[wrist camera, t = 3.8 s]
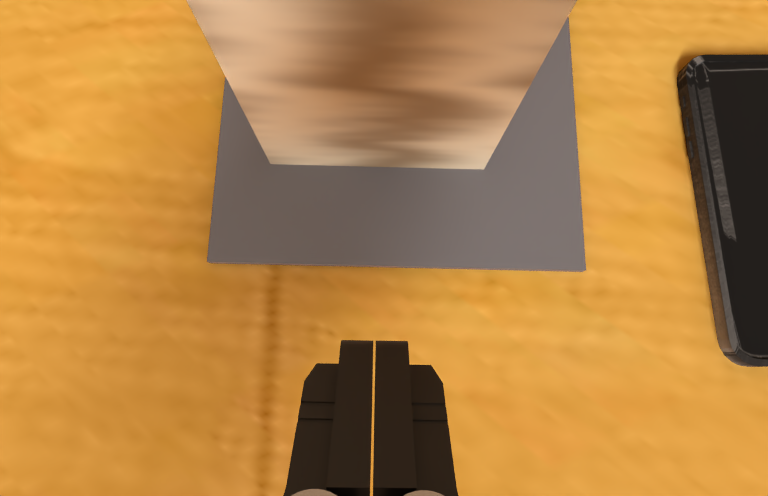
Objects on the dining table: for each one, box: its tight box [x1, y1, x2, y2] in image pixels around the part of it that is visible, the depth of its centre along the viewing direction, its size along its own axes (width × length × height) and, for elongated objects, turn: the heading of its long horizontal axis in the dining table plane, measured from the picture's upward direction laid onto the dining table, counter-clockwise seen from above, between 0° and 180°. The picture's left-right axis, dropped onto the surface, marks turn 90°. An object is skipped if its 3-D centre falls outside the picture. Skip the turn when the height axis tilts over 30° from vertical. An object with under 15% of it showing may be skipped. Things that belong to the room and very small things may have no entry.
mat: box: [207, 18, 586, 272], centre depth 26 cm, size 17×21×1 cm
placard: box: [187, 0, 577, 170], centre depth 18 cm, size 10×2×14 cm, turn 89°
